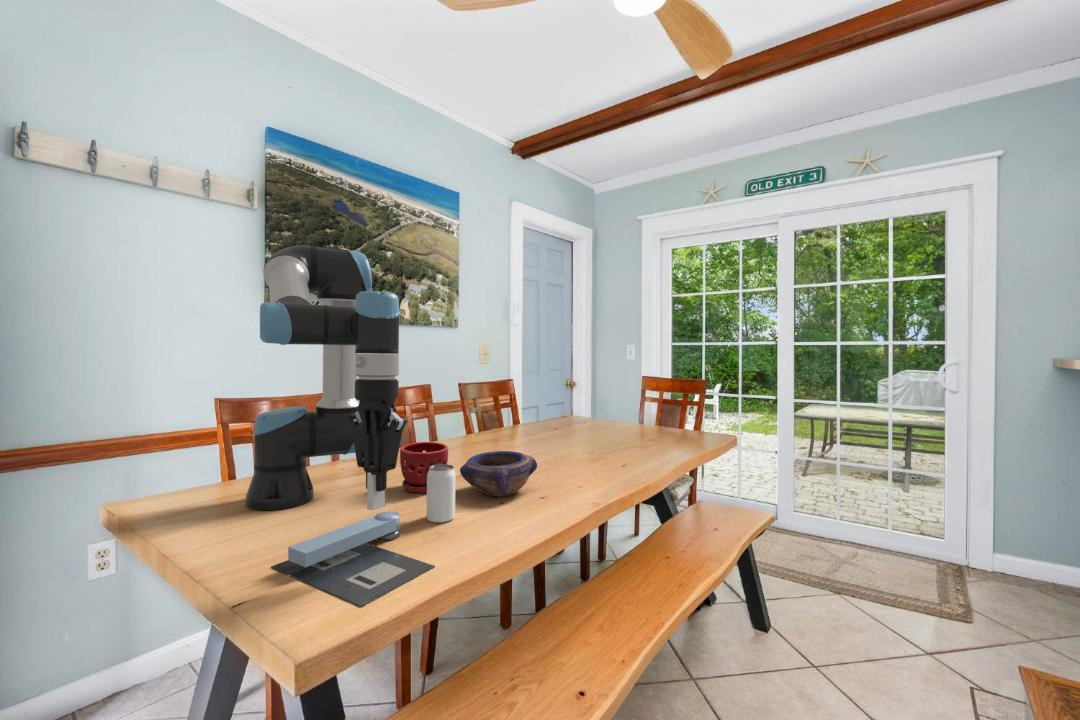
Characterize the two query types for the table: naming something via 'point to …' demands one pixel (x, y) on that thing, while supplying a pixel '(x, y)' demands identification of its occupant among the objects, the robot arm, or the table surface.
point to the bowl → (498, 472)
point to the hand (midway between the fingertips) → (375, 507)
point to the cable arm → (343, 539)
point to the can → (441, 493)
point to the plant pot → (420, 463)
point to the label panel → (358, 573)
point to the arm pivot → (389, 536)
